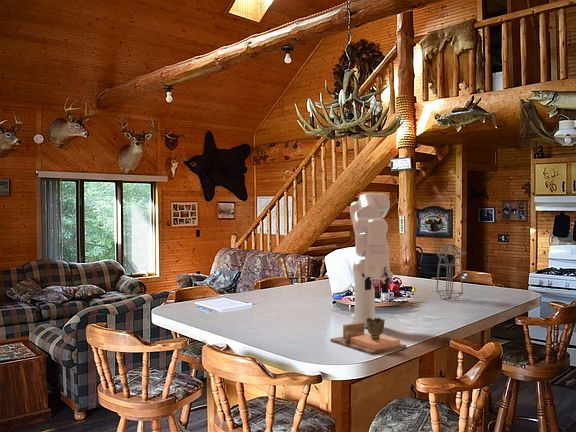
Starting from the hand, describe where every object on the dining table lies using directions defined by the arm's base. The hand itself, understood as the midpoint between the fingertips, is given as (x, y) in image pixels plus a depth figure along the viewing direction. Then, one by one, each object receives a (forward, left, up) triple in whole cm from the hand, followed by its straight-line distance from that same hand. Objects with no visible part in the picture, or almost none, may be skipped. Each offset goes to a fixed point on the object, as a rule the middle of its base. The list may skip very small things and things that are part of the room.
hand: (376, 291), depth 212 cm
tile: (+1, -1, -19) cm, 19 cm away
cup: (+1, -1, -19) cm, 19 cm away
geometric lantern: (-54, +118, -23) cm, 132 cm away
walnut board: (-4, -1, -22) cm, 23 cm away
